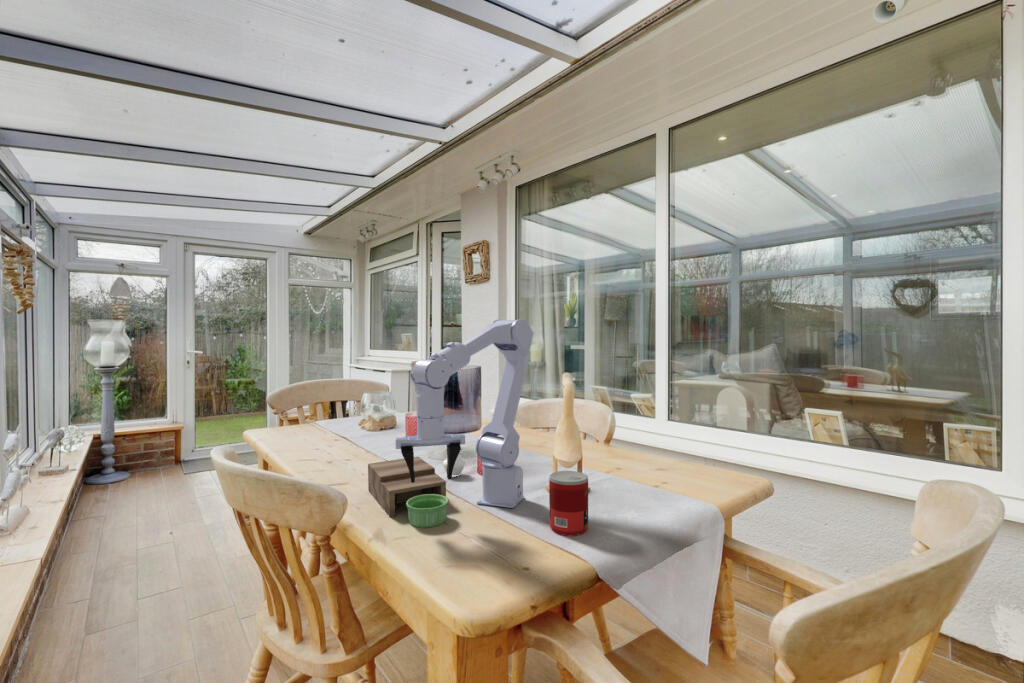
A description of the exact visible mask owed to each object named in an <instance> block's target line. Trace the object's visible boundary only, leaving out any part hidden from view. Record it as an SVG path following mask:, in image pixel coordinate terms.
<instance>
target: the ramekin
mask: <svg viewBox="0 0 1024 683" xmlns="http://www.w3.org/2000/svg"><path fill="white" fill-rule="evenodd" d="M448 504H449V499H448V498H447V496H446V497H445V496H442V495H438V494H425V495H419V496H415V497H412V498H410V499H409V500H408V501H407V502H405V505H406V508H407V516H408V522H409V524H410V525H411V526H413V527H415V528H416V527H417V528H421V529H423V528H424V529H425V528H434V527H438V526H440V525H442V524H444V523H445V522H446V520H447V514H448V512H447V511H448Z"/></svg>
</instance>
